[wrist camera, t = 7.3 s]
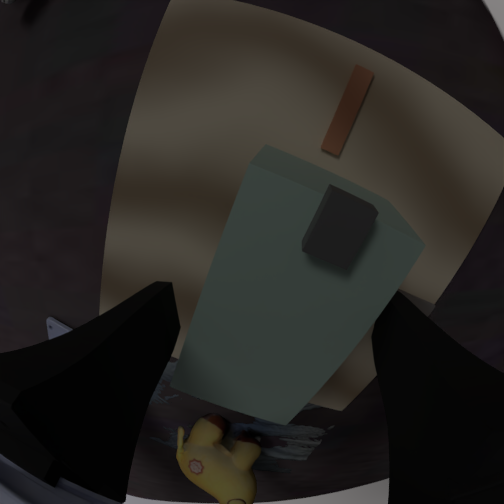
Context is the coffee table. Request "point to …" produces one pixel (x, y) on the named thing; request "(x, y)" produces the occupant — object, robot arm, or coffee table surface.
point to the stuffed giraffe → (233, 450)
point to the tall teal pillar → (291, 287)
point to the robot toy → (8, 1)
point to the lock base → (290, 141)
